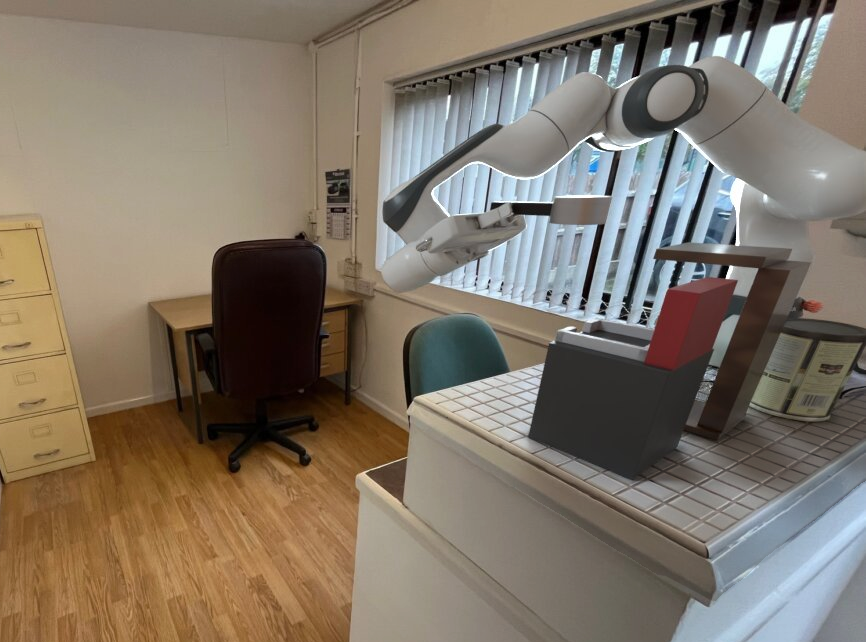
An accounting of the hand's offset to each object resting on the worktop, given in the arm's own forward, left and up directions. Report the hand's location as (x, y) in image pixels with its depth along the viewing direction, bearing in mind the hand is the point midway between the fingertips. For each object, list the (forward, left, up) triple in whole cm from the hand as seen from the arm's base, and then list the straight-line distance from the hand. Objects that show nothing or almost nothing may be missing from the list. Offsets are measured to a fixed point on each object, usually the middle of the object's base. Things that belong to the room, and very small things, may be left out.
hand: (518, 206), depth 72 cm
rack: (-29, +2, -32) cm, 43 cm away
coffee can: (-47, -3, -32) cm, 57 cm away
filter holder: (-3, +3, -2) cm, 5 cm away
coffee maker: (-14, +16, -32) cm, 38 cm away
